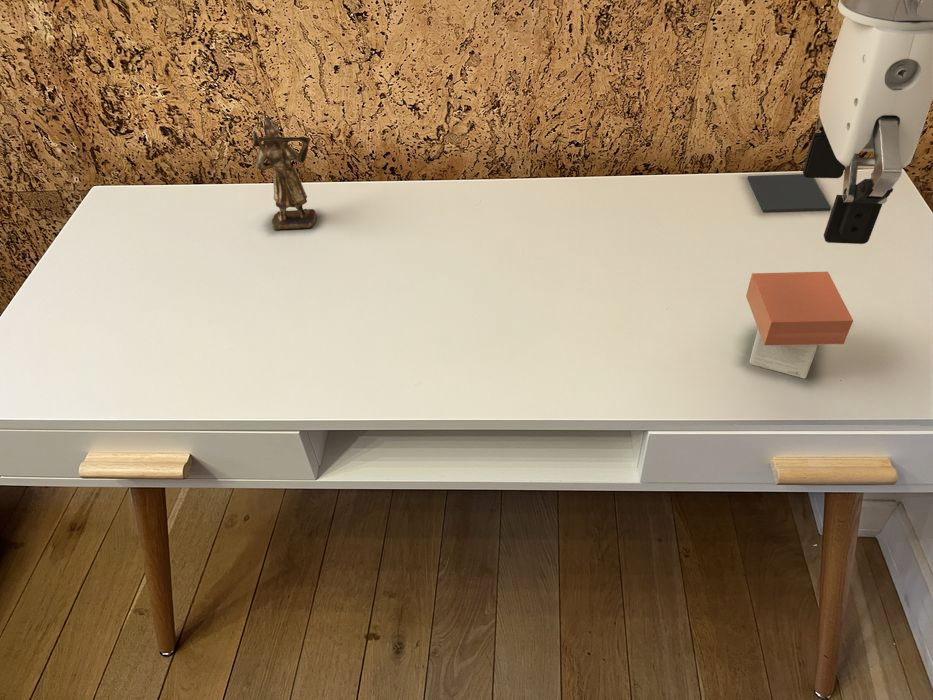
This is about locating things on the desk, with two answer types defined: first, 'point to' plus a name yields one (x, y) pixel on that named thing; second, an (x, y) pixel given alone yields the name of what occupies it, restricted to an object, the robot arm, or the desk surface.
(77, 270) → the desk surface
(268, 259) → the desk surface
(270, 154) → the figurine
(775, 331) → the orange flat block
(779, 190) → the mat
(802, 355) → the small box
